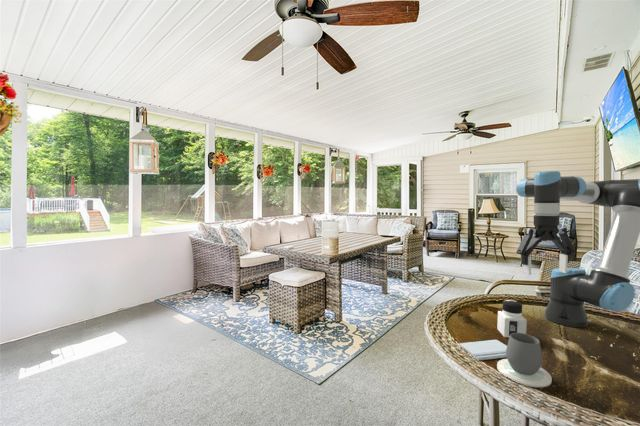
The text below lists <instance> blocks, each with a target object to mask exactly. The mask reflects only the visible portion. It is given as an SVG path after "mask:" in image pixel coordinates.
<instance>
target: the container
mask: <svg viewBox="0 0 640 426" xmlns="http://www.w3.org/2000/svg"><path fill="white" fill-rule="evenodd" d="M527 323H528V320H527V319H526V318H525V317H524V316H523V304H522V303H521V302H519V301H516V300H513V299H512V300H511V299H506V300H503V301H502V311H501V310H498V311H497V323H496V324H497V331H499V333H500V334H501V336H503V337H504V338H508V339H509V337H510V334H512V333H524V334H527V327H528V326H527V325H528V324H527Z"/></svg>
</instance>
